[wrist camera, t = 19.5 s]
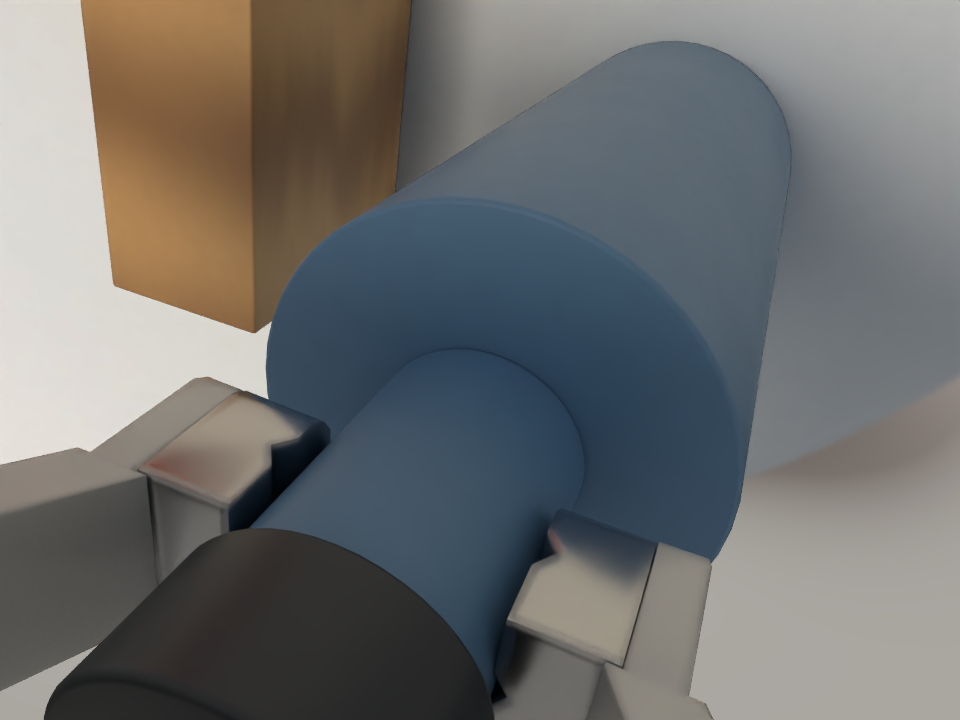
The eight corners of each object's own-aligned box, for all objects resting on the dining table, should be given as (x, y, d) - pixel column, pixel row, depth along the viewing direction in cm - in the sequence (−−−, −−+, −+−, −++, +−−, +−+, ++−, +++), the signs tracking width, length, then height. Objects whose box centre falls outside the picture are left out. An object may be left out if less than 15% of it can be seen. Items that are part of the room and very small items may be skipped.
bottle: (702, 256, 23) (1323, 960, 9) (249, 226, 21) (46, 1156, 6) (768, 42, 20) (1912, 576, 6) (244, -24, 18) (-190, 647, 3)
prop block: (391, 236, 24) (254, 335, 18) (277, 202, 25) (112, 286, 19) (417, -62, 20) (250, -55, 14) (278, -89, 21) (68, -92, 15)
